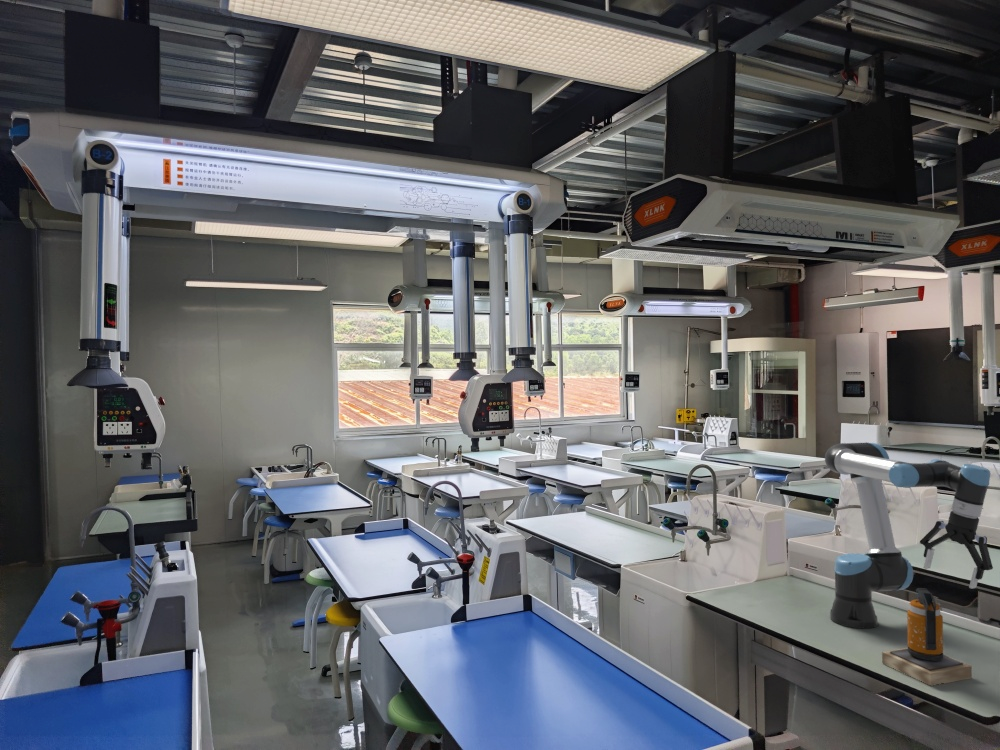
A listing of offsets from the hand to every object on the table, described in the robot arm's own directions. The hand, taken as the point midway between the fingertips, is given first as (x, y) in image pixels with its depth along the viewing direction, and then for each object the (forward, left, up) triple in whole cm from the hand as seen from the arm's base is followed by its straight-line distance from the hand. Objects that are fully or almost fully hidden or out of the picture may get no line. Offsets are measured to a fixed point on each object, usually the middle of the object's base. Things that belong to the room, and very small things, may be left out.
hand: (948, 577), depth 210 cm
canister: (+6, -18, -21) cm, 28 cm away
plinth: (+6, -18, -24) cm, 31 cm away
